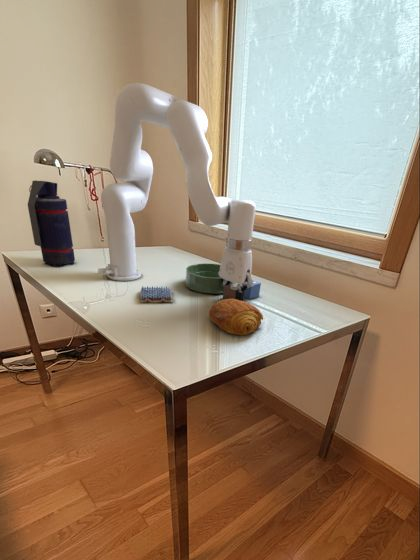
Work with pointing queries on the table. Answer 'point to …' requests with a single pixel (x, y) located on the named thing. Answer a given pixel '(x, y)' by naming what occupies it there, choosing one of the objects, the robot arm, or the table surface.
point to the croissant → (235, 316)
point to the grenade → (50, 223)
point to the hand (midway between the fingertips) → (232, 299)
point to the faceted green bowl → (204, 278)
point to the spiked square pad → (156, 294)
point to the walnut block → (230, 291)
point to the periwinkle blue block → (253, 290)
